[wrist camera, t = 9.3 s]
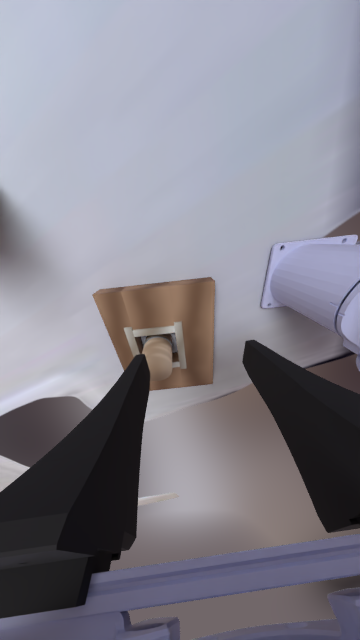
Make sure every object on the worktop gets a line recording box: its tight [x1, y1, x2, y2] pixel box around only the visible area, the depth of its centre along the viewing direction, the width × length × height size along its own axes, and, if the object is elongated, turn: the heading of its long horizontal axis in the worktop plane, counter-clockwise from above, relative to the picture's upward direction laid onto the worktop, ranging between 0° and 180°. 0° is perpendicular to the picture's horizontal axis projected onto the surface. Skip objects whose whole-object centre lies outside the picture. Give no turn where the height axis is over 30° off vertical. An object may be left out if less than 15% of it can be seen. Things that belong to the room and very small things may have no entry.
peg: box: [142, 333, 173, 381], centre depth 19 cm, size 4×4×6 cm
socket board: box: [93, 277, 215, 391], centre depth 21 cm, size 14×18×2 cm
